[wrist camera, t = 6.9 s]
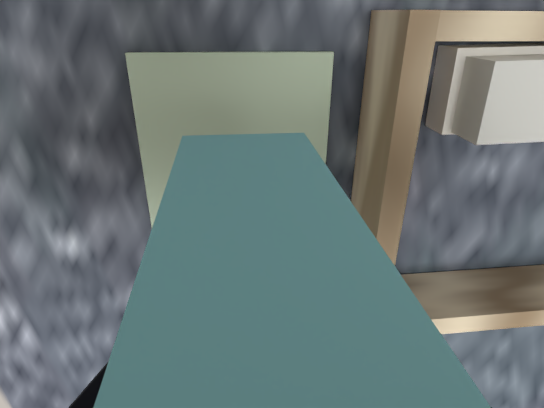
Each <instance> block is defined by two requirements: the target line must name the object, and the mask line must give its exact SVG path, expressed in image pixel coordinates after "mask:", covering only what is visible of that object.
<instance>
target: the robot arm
mask: <svg viewBox="0 0 544 408" xmlns="http://www.w3.org/2000/svg"><path fill="white" fill-rule="evenodd" d="M108 362H109V361H108ZM107 365H108V363H107V364H106V365H105V366H104V367H103V368H102V369H101V371H100V372H99V373H98V374H97V375H96V376H95V378H94V379H93V380H92V381H91V382H90V383H89V384H88V386H87V387H86V388H85V389H84V390H83V391H82V393H81V394H80V395H79V396H78V397H77V398H76V400H75V401H74V402H73V403H72V404H71V405H70V406H69V408H93V407H94V404H95V401H96V398H97V395H98V392H99V389H100V386H101V383H102V380H103V377H104V374H105V371H106V368H107ZM491 408H492V407H491Z"/></svg>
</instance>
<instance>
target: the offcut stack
mask: <svg viewBox="0 0 544 408" xmlns="http://www.w3.org/2000/svg"><path fill="white" fill-rule="evenodd" d="M425 126H427V127H428V128H430V129H432V130H434V131H436V132H437V133H439V134H441V135H450V134H456V135H458V136H460V137H462V138H463V139H465V140H467V141H469V142H471V143H473V144H475V145H488V144H507V143H527V142H544V43H509V44H469V45H438V51H437V57H436V63H435V69H434V75H433V81H432V87H431V93H430V99H429V105H428V111H427V117H426V123H425Z"/></svg>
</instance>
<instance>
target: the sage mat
mask: <svg viewBox="0 0 544 408" xmlns="http://www.w3.org/2000/svg"><path fill="white" fill-rule="evenodd" d="M125 56H126V63H127V69H128V76H129V82H130V89H131V95H132V102H133V109H134V115H135V122H136V128H137V135H138V141H139V148H140V154H141V161H142V167H143V174H144V181H145V187H146V194H147V200H148V207H149V213H150V220H151V226H152V227H153V224H154V221H155V218H156V215H157V212H158V209H159V206H160V203H161V200H162V197H163V193H164V190H165V187H166V184H167V181H168V178H169V175H170V172H171V169H172V166H173V163H174V160H175V157H176V154H177V151H178V148H179V145H180V141H181V138H182V136H190V135H230V134H271V133H305V135H306V136H307V138H308V139H309V141H310V142H311V144H312V145H313V146H314V148H315V149H316V151H317V152H318V154H319V155H320V157H321V158H322V160H323V161H324V163H325V164H326V154H327V140H328V126H329V113H330V99H331V85H332V71H333V58H334V52H331V51H316V52H127V53H125Z"/></svg>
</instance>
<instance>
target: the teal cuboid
mask: <svg viewBox="0 0 544 408" xmlns="http://www.w3.org/2000/svg"><path fill="white" fill-rule="evenodd" d="M93 408H491V407H490V405H489V404H488V403H487V401H486V400H485V398H484V397H483V395H482V394H481V392H480V391H479V389H478V388H477V386H476V385H475V383H474V382H473V380H472V379H471V378H470V376H469V375H468V373H467V372H466V370H465V369H464V367H463V366H462V364H461V363H460V361H459V360H458V358H457V357H456V355H455V354H454V352H453V351H452V350H451V348H450V347H449V345H448V344H447V342H446V341H445V339H444V338H443V336H442V335H441V333H440V332H439V330H438V329H437V327H436V326H435V325H434V323H433V322H432V320H431V319H430V317H429V316H428V314H427V313H426V311H425V310H424V308H423V307H422V305H421V304H420V302H419V301H418V300H417V298H416V297H415V295H414V294H413V292H412V291H411V289H410V288H409V286H408V285H407V283H406V282H405V280H404V279H403V277H402V276H401V275H400V273H399V272H398V270H397V269H396V267H395V266H394V264H393V263H392V261H391V260H390V258H389V257H388V255H387V254H386V252H385V251H384V249H383V248H382V247H381V245H380V244H379V242H378V241H377V239H376V238H375V236H374V235H373V233H372V232H371V230H370V229H369V227H368V226H367V224H366V223H365V222H364V220H363V219H362V217H361V216H360V214H359V213H358V211H357V210H356V208H355V207H354V205H353V204H352V202H351V201H350V199H349V198H348V197H347V195H346V194H345V192H344V191H343V189H342V188H341V186H340V185H339V183H338V182H337V180H336V179H335V177H334V176H333V174H332V173H331V172H330V170H329V169H328V167H327V166H326V164H325V163H324V161H323V160H322V158H321V157H320V155H319V154H318V152H317V151H316V149H315V148H314V146H313V145H312V144H311V142H310V141H309V139H308V138H307V136H306V135H305V133H271V134H230V135H190V136H182V138H181V141H180V145H179V148H178V151H177V154H176V157H175V160H174V163H173V166H172V169H171V172H170V175H169V178H168V181H167V184H166V187H165V190H164V193H163V197H162V200H161V203H160V206H159V209H158V212H157V215H156V218H155V221H154V224H153V227H152V230H151V233H150V236H149V239H148V242H147V245H146V248H145V252H144V255H143V258H142V261H141V264H140V267H139V270H138V273H137V276H136V279H135V282H134V285H133V288H132V291H131V294H130V297H129V300H128V304H127V307H126V310H125V313H124V316H123V319H122V322H121V325H120V328H119V331H118V334H117V337H116V340H115V343H114V346H113V349H112V352H111V355H110V359H109V362H108V365H107V368H106V371H105V374H104V377H103V380H102V383H101V386H100V389H99V392H98V395H97V398H96V401H95V404H94V407H93Z"/></svg>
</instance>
